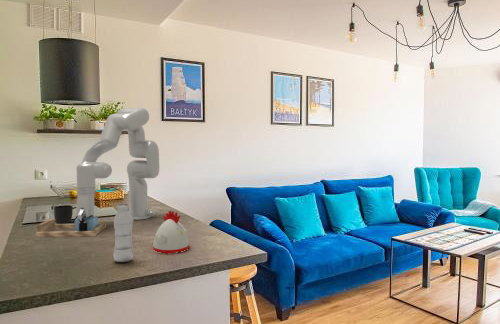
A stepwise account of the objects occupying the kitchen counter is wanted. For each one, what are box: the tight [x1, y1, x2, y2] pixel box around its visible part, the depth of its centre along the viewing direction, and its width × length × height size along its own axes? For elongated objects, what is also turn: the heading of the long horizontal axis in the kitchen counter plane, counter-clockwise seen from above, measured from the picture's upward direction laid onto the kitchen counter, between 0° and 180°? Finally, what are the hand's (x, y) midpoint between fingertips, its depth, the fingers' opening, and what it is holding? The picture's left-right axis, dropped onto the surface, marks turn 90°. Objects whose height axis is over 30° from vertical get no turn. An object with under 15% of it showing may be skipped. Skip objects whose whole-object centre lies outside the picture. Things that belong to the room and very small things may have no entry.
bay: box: [35, 217, 107, 238], centre depth 161 cm, size 24×16×6 cm, turn 96°
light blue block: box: [74, 216, 99, 231], centre depth 161 cm, size 8×6×6 cm
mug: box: [53, 204, 78, 224], centre depth 178 cm, size 8×12×10 cm
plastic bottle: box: [112, 203, 134, 263], centre depth 125 cm, size 6×7×20 cm
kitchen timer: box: [152, 210, 190, 253], centre depth 141 cm, size 14×14×15 cm
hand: (86, 229), depth 161 cm, fingers open, 8 cm apart
